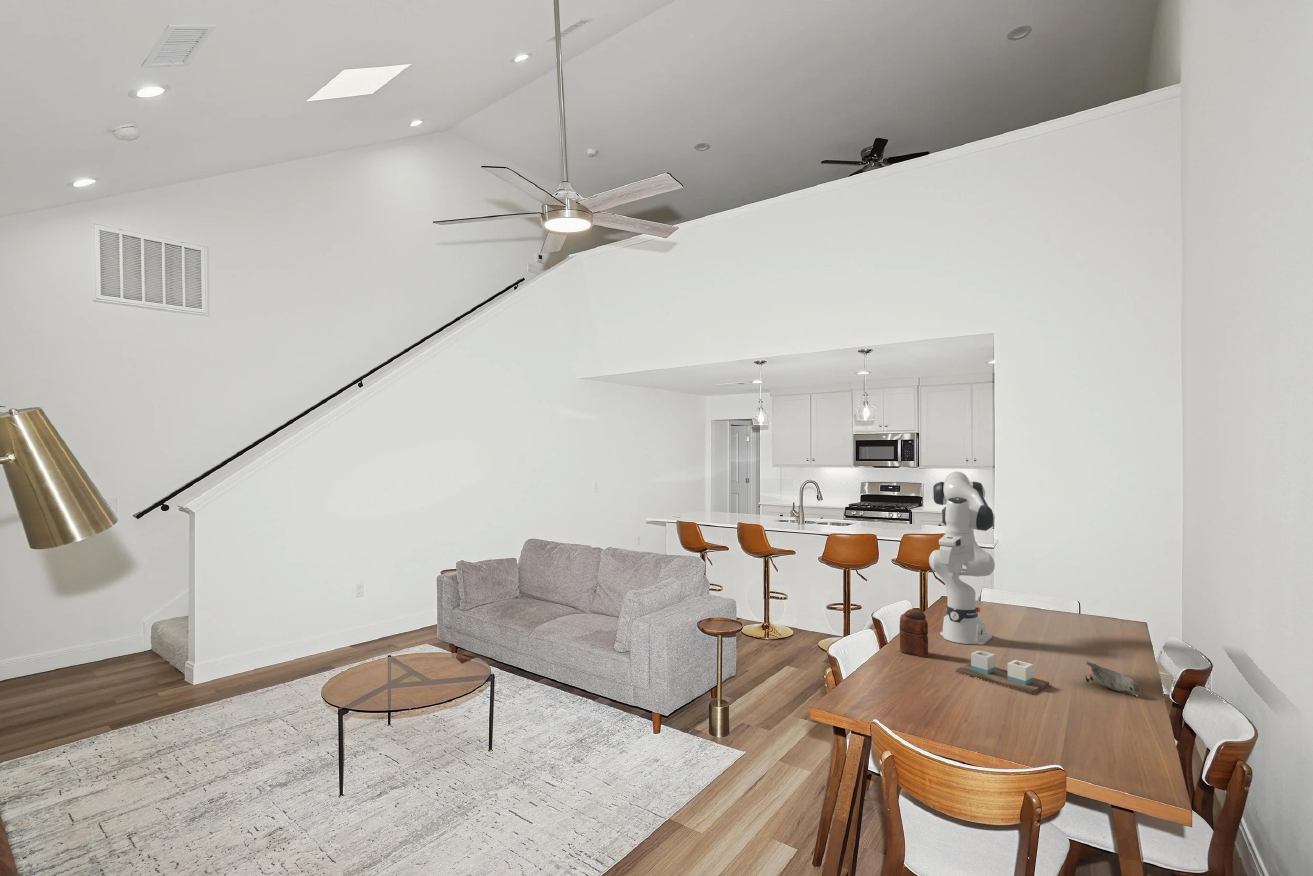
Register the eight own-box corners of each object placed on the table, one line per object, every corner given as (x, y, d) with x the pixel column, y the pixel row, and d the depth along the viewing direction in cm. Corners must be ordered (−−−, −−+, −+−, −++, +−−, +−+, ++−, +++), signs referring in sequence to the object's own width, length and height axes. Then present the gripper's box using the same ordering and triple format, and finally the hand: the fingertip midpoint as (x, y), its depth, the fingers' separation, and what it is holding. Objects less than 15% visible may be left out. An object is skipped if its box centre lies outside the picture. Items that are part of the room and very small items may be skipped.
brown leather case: (931, 654, 251) (931, 610, 251) (926, 658, 246) (926, 613, 247) (902, 648, 259) (902, 605, 259) (896, 652, 254) (896, 608, 254)
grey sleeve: (978, 666, 235) (978, 650, 235) (995, 670, 230) (995, 654, 230) (971, 669, 231) (970, 653, 231) (987, 674, 226) (987, 657, 226)
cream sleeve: (1015, 676, 224) (1015, 659, 224) (1033, 681, 220) (1033, 664, 220) (1007, 680, 221) (1007, 663, 221) (1025, 685, 216) (1025, 668, 216)
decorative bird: (1133, 699, 207) (1133, 677, 207) (1082, 683, 222) (1082, 662, 222) (1142, 697, 210) (1142, 674, 210) (1091, 681, 224) (1091, 660, 224)
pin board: (974, 664, 240) (974, 647, 240) (1049, 685, 219) (1048, 666, 219) (956, 672, 232) (956, 654, 232) (1031, 694, 211) (1031, 675, 211)
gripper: (963, 536, 252) (963, 570, 251) (936, 540, 239) (936, 576, 239) (978, 538, 247) (979, 573, 246) (952, 542, 234) (952, 579, 234)
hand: (957, 574), depth 243 cm, fingers open, 8 cm apart
